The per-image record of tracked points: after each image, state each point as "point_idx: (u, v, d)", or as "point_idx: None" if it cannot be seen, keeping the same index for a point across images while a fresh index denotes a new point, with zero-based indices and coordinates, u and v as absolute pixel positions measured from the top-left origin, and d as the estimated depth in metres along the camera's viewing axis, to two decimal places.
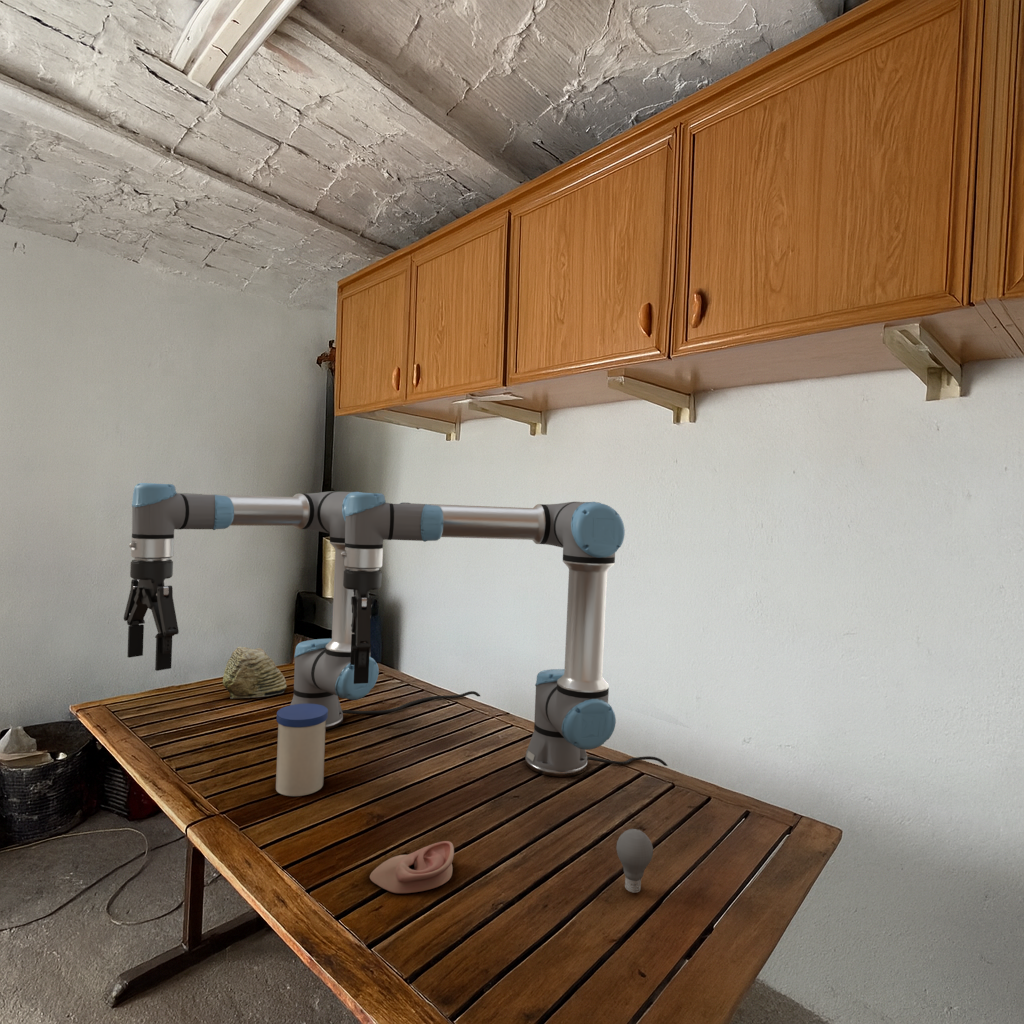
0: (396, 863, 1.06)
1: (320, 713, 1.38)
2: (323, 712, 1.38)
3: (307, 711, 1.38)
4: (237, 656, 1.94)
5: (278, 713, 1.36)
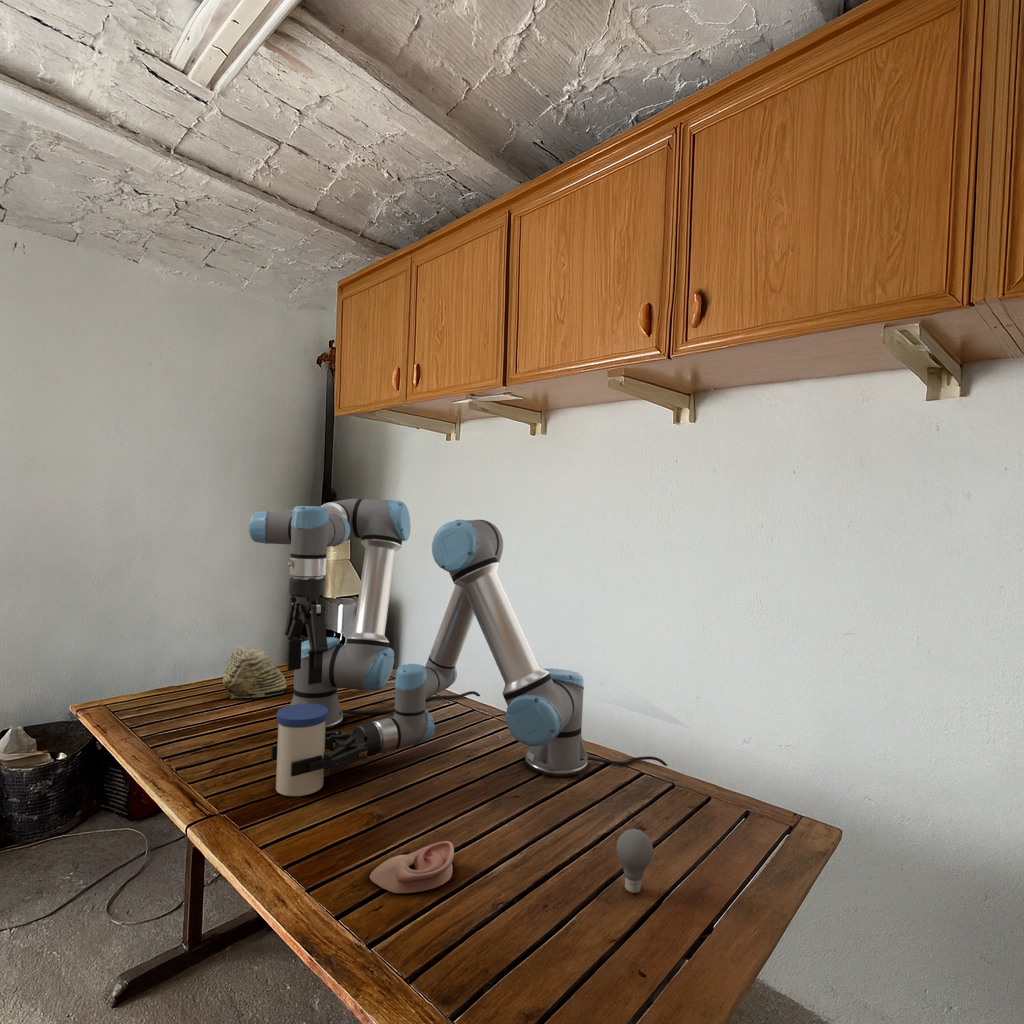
0: (396, 863, 1.06)
1: (320, 713, 1.38)
2: (323, 712, 1.38)
3: (307, 711, 1.38)
4: (237, 656, 1.94)
5: (278, 713, 1.36)
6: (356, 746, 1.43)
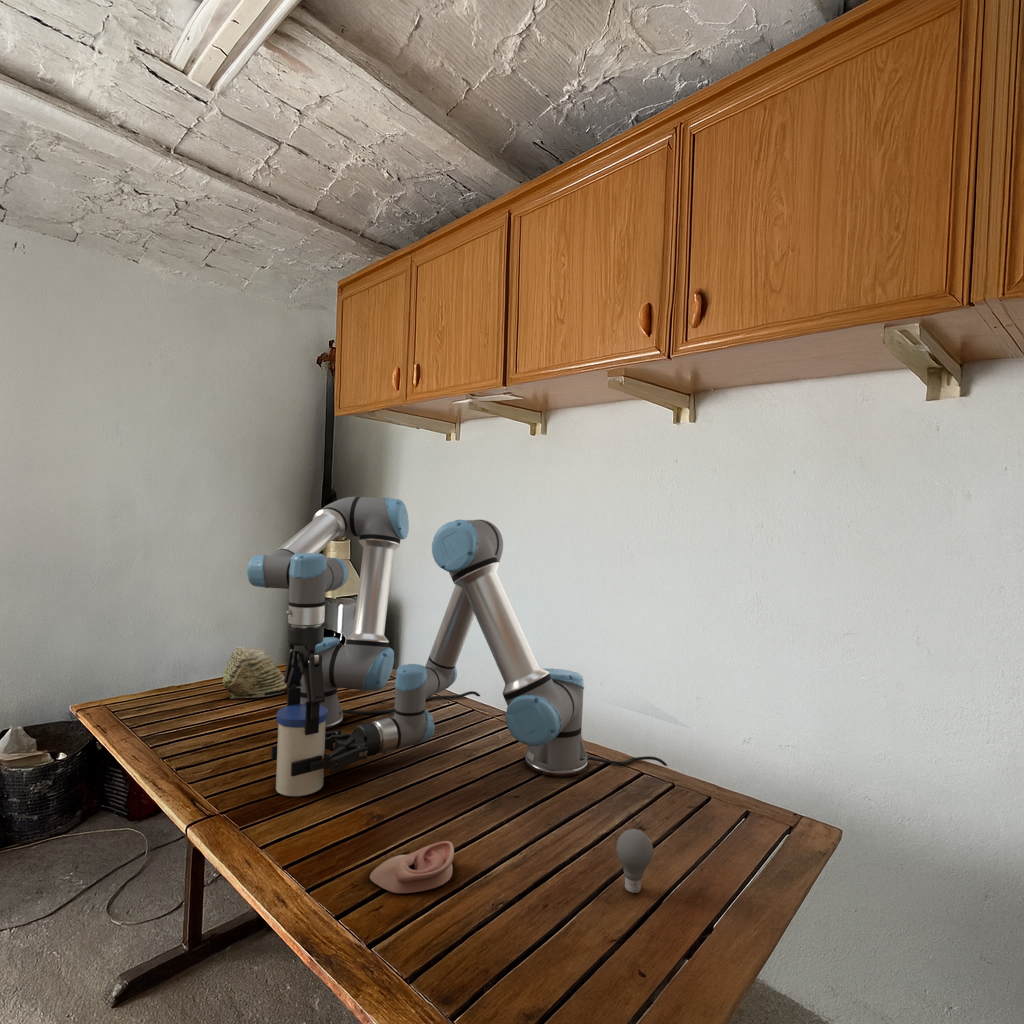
0: (396, 863, 1.06)
1: (320, 713, 1.37)
2: (323, 712, 1.38)
3: None
4: (237, 656, 1.94)
5: (278, 713, 1.36)
6: (356, 746, 1.43)
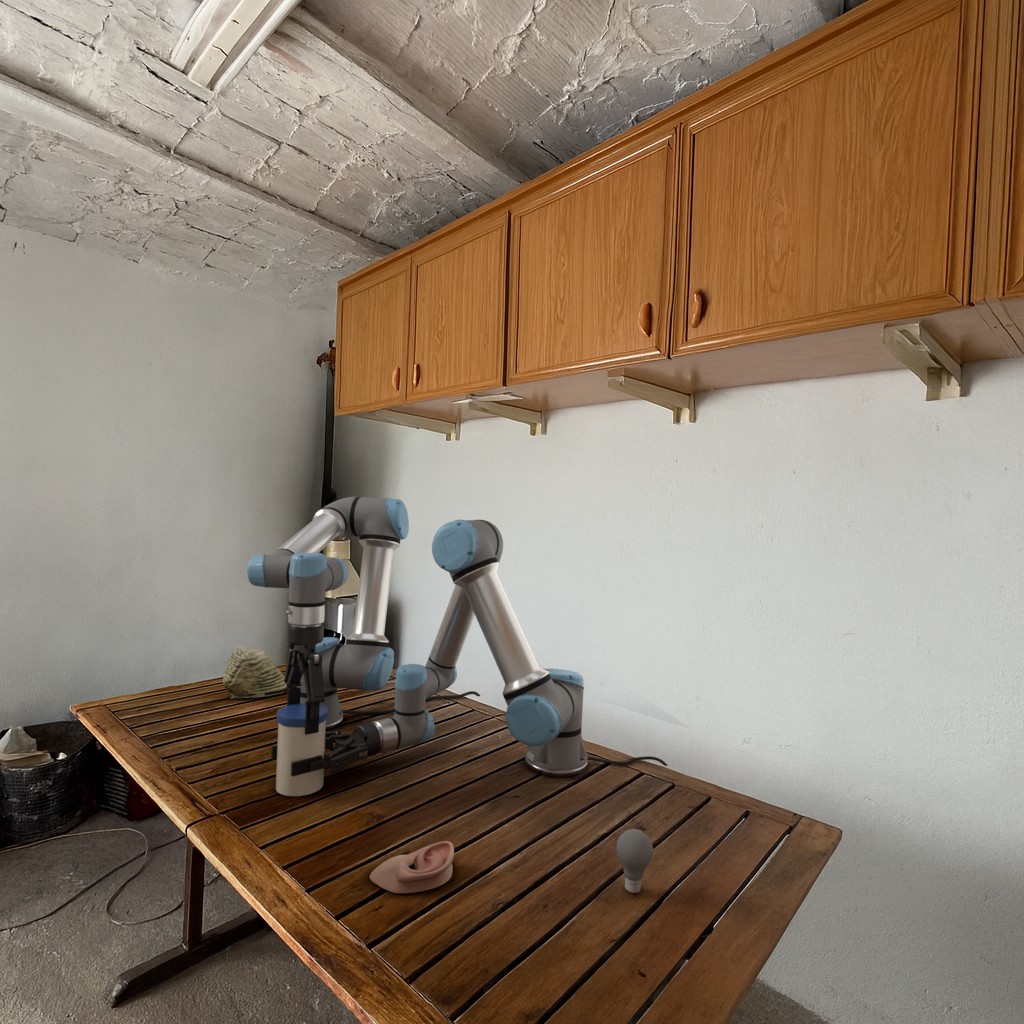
0: (396, 863, 1.06)
1: None
2: None
3: (303, 709, 1.39)
4: (237, 656, 1.94)
5: None
6: (356, 746, 1.43)
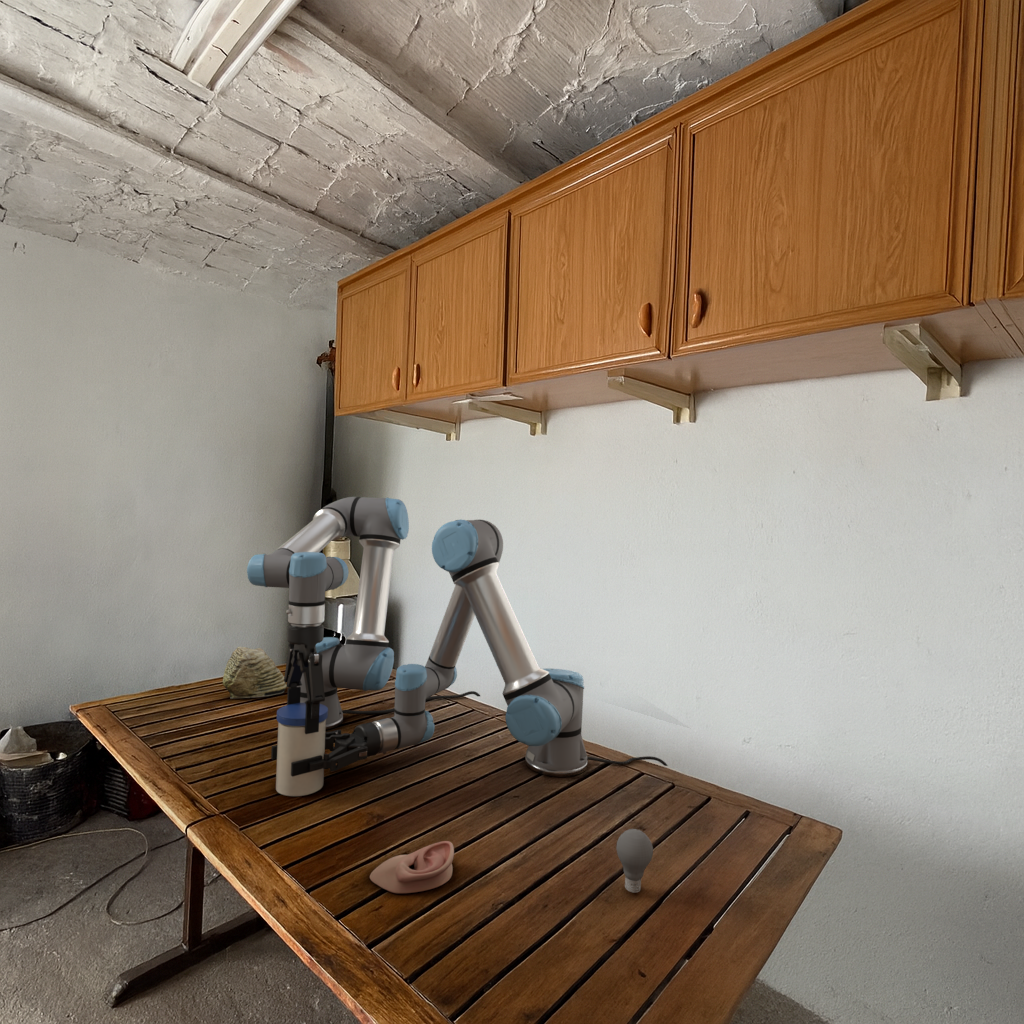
0: (396, 863, 1.06)
1: (284, 709, 1.38)
2: (281, 709, 1.38)
3: (297, 710, 1.38)
4: (237, 656, 1.94)
5: (325, 707, 1.41)
6: (356, 746, 1.43)
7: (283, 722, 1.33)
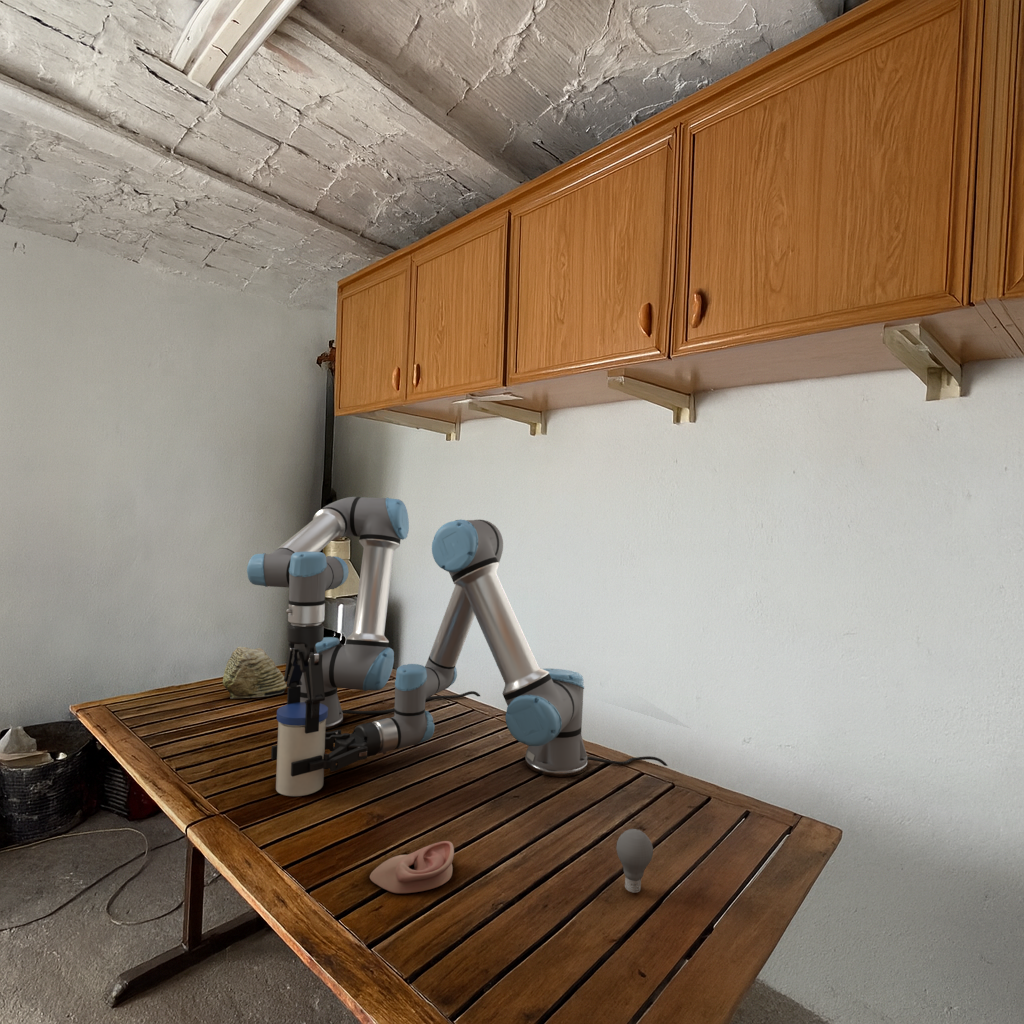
0: (396, 863, 1.06)
1: (296, 716, 1.34)
2: (298, 717, 1.34)
3: (302, 711, 1.37)
4: (237, 656, 1.94)
5: (296, 703, 1.42)
6: (356, 746, 1.43)
7: (321, 719, 1.36)
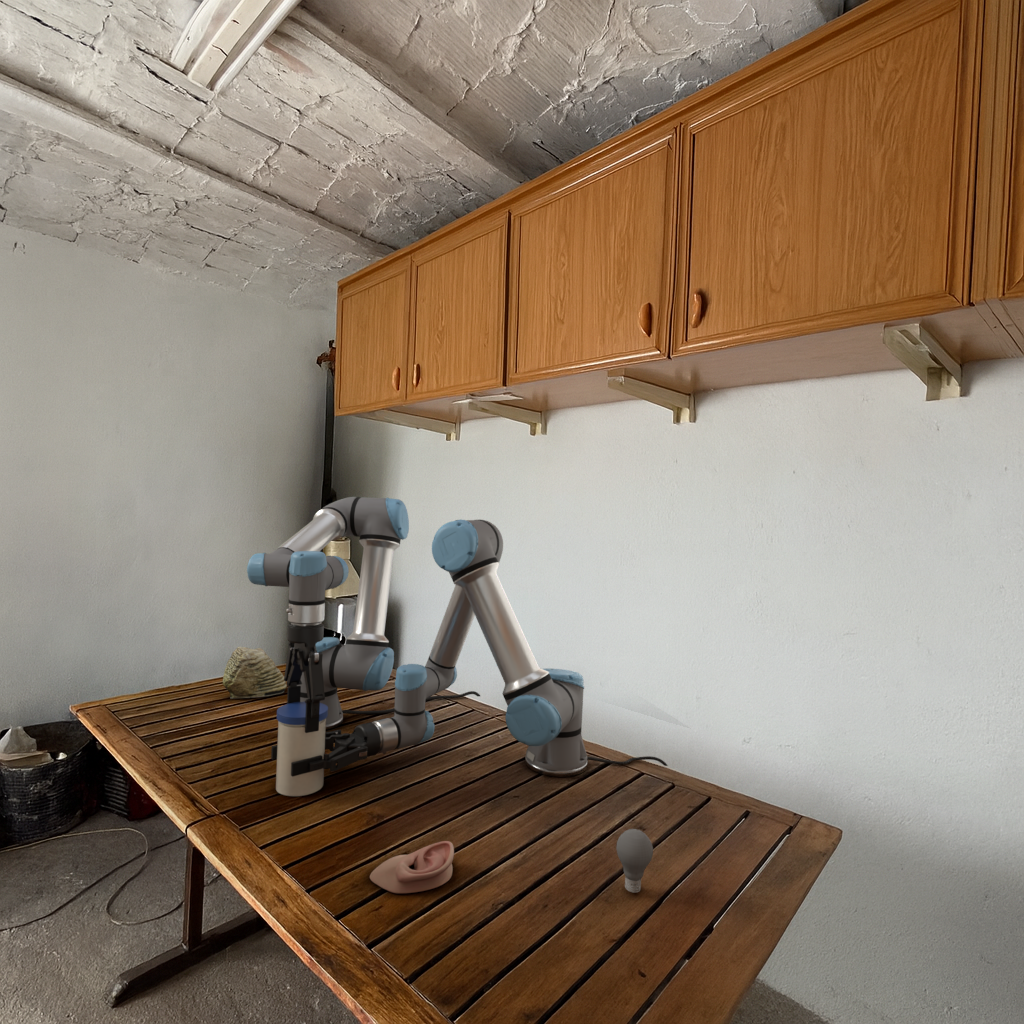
0: (396, 863, 1.06)
1: (321, 709, 1.38)
2: (324, 708, 1.39)
3: None
4: (237, 656, 1.94)
5: (279, 712, 1.35)
6: (356, 746, 1.43)
7: None
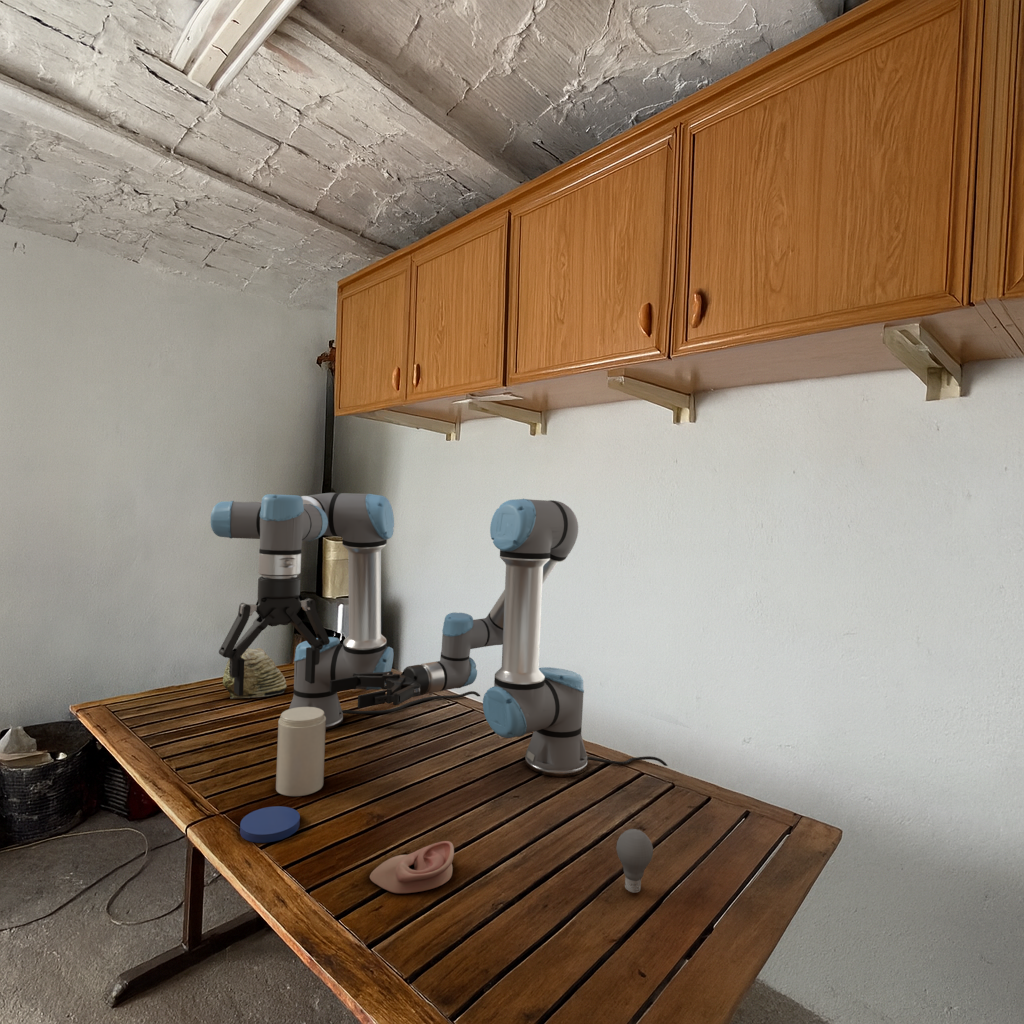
0: (396, 863, 1.06)
1: (247, 821, 1.20)
2: (244, 822, 1.19)
3: (264, 820, 1.20)
4: None
5: (295, 811, 1.24)
6: (408, 684, 1.51)
7: (252, 839, 1.15)
